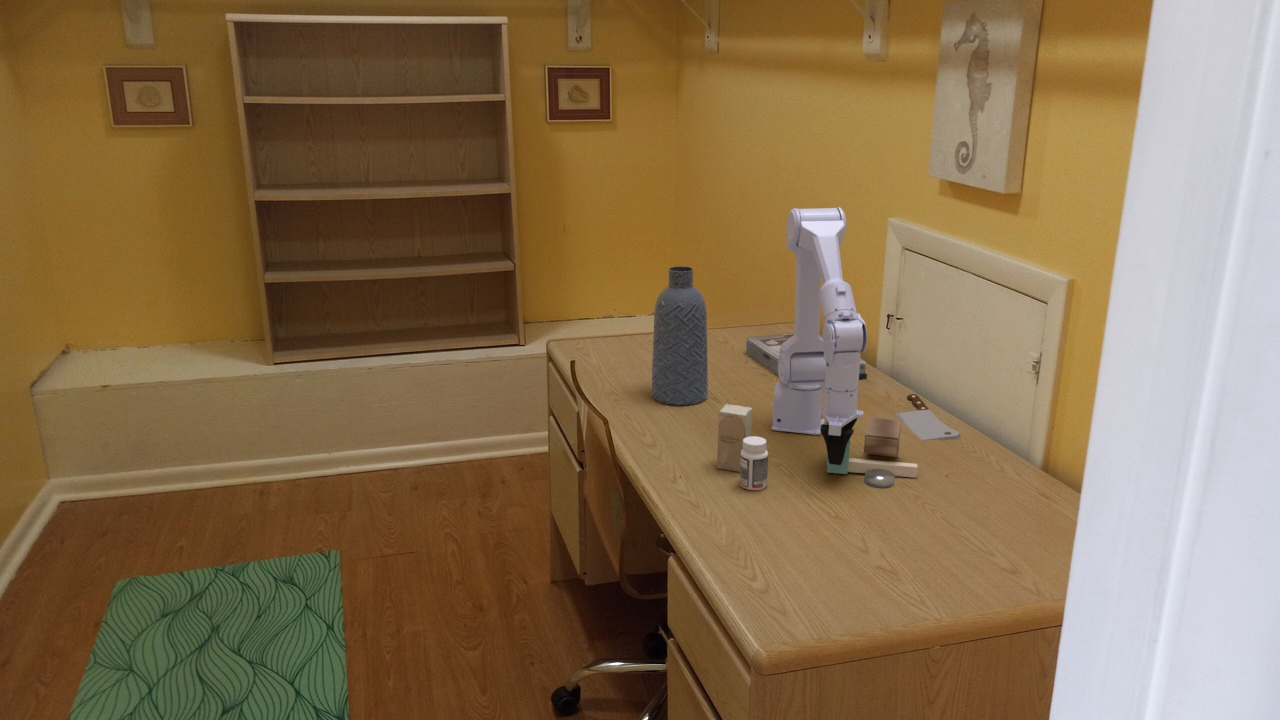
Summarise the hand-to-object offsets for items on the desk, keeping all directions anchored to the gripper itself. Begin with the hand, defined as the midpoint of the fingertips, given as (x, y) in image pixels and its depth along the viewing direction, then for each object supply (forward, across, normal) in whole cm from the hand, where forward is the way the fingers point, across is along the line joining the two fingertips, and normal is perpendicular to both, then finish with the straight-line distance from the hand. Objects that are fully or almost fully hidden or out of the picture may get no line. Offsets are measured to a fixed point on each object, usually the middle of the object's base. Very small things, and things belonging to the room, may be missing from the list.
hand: (836, 459), depth 178 cm
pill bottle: (+3, -10, +13) cm, 17 cm away
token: (+3, -2, -8) cm, 8 cm away
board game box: (+3, +60, +15) cm, 62 cm away
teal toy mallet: (+2, +1, -6) cm, 6 cm away
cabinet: (+2, +6, -7) cm, 10 cm away
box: (+3, -3, +18) cm, 18 cm away
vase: (+3, +30, +37) cm, 48 cm away
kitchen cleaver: (+3, +32, -13) cm, 35 cm away
